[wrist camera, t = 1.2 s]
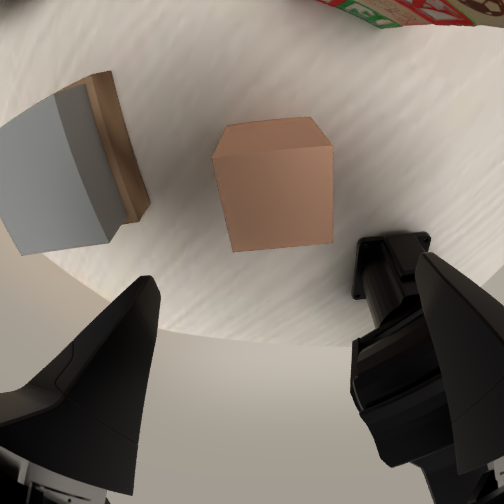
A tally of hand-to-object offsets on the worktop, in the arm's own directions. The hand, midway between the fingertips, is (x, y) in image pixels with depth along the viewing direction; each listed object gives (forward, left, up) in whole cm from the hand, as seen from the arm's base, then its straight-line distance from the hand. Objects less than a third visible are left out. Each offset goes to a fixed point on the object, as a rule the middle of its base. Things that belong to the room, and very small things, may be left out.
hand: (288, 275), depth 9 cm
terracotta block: (0, 0, -11) cm, 11 cm away
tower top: (+3, +14, -8) cm, 17 cm away
